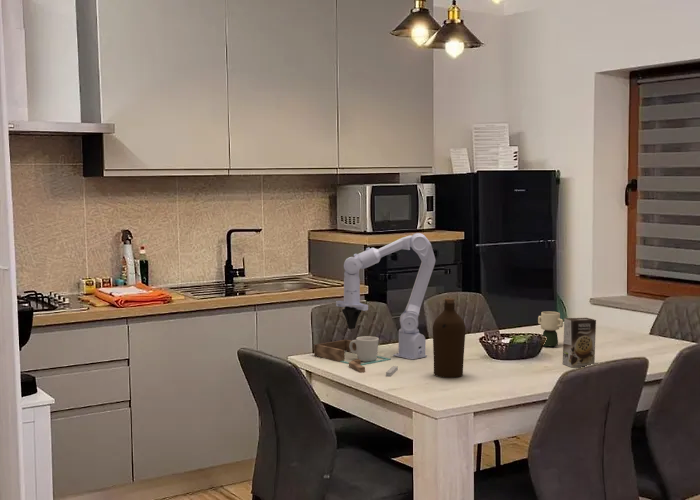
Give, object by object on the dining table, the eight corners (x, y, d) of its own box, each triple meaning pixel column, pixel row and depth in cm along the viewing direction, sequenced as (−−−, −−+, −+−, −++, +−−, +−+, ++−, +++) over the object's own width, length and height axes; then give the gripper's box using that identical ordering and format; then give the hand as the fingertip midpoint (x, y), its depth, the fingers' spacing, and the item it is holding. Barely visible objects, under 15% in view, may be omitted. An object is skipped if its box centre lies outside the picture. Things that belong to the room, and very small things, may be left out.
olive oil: (468, 378, 286) (469, 300, 284) (435, 378, 285) (436, 301, 283) (460, 371, 296) (462, 296, 294) (429, 371, 295) (430, 296, 293)
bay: (390, 359, 314) (390, 358, 314) (357, 366, 303) (358, 365, 303) (372, 355, 320) (372, 354, 320) (340, 361, 309) (340, 361, 309)
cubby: (373, 356, 320) (373, 345, 319) (341, 362, 309) (341, 350, 309) (345, 350, 330) (345, 339, 330) (314, 355, 320) (314, 344, 320)
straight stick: (390, 377, 288) (390, 372, 288) (385, 377, 288) (385, 372, 288) (397, 371, 297) (397, 366, 297) (392, 370, 298) (393, 366, 298)
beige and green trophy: (567, 347, 339) (568, 313, 338) (556, 349, 334) (557, 315, 333) (542, 343, 347) (543, 310, 345) (532, 345, 342) (533, 311, 341)
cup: (344, 360, 311) (344, 338, 311) (354, 356, 318) (354, 334, 318) (372, 364, 306) (372, 341, 306) (382, 359, 314) (382, 337, 313)
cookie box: (571, 367, 303) (572, 320, 301) (562, 363, 309) (563, 317, 307) (595, 366, 305) (596, 319, 304) (585, 362, 311) (586, 316, 310)
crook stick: (372, 370, 295) (371, 365, 294) (360, 372, 293) (360, 368, 293) (359, 363, 305) (358, 359, 304) (348, 366, 303) (347, 361, 303)
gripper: (329, 289, 321) (329, 327, 322) (358, 293, 310) (357, 332, 312) (344, 288, 326) (344, 325, 327) (372, 291, 315) (372, 330, 316)
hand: (351, 328), depth 320 cm, fingers closed
